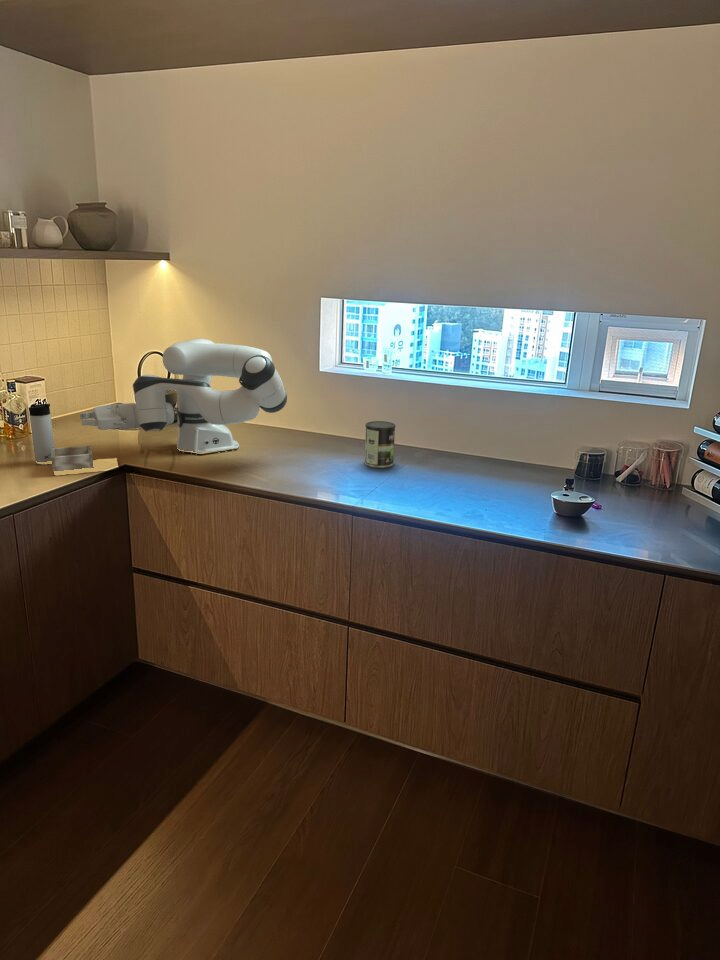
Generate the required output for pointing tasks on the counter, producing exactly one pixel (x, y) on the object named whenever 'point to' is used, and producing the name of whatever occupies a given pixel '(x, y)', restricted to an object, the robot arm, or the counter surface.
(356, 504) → the counter surface
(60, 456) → the mug caddy
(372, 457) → the coffee can
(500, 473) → the counter surface
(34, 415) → the travel mug
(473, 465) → the counter surface
